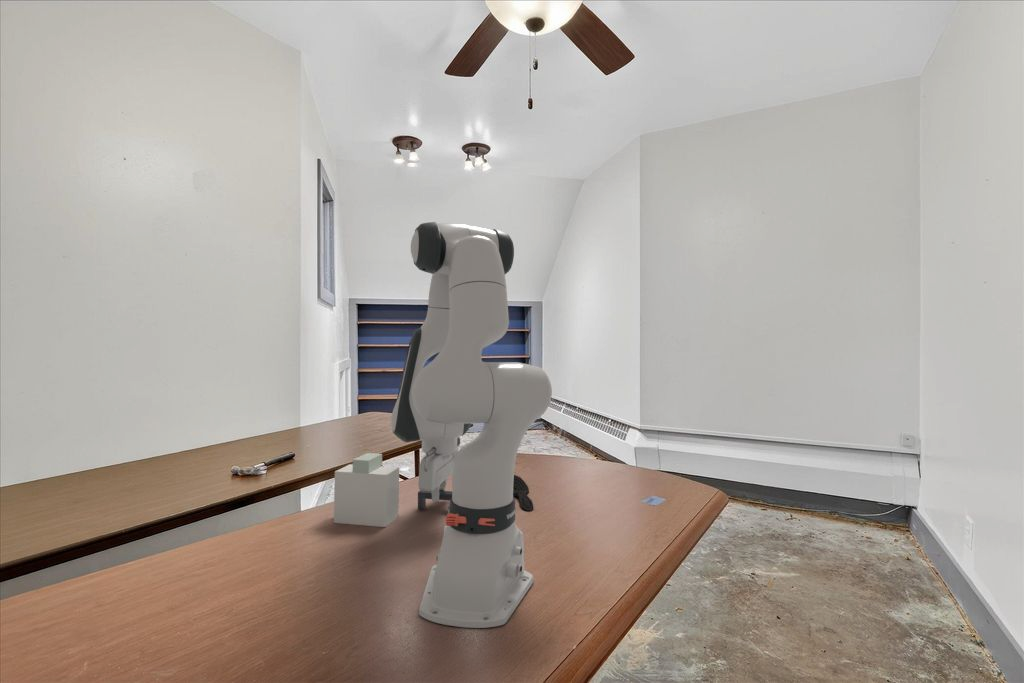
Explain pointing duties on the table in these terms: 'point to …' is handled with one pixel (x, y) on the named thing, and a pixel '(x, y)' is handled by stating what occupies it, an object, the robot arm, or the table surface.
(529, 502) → the hairbrush
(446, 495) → the frame
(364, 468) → the stand
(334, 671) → the table surface
